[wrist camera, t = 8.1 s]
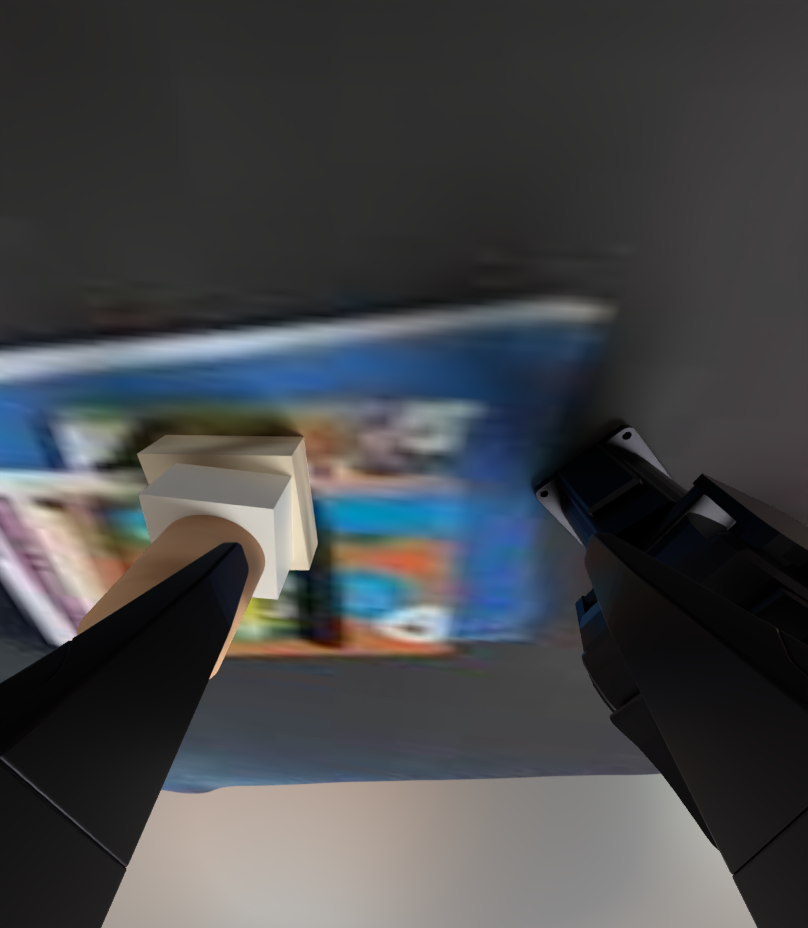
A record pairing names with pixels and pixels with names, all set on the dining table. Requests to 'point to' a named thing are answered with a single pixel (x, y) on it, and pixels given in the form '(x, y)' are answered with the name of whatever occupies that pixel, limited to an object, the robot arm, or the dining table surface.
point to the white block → (229, 510)
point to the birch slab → (247, 456)
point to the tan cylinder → (182, 566)
